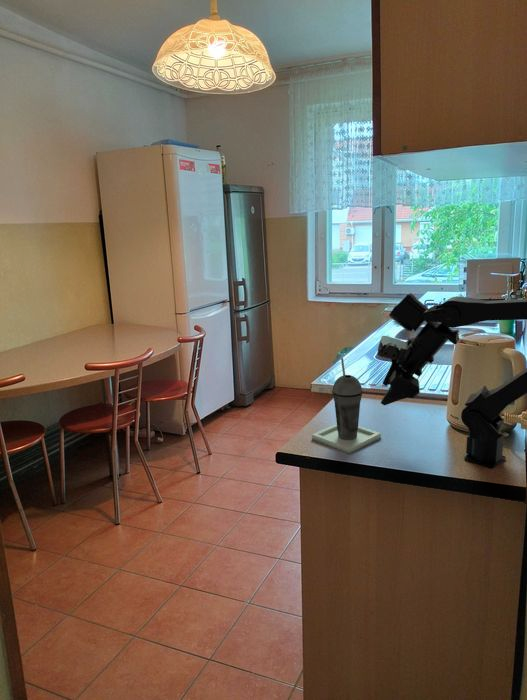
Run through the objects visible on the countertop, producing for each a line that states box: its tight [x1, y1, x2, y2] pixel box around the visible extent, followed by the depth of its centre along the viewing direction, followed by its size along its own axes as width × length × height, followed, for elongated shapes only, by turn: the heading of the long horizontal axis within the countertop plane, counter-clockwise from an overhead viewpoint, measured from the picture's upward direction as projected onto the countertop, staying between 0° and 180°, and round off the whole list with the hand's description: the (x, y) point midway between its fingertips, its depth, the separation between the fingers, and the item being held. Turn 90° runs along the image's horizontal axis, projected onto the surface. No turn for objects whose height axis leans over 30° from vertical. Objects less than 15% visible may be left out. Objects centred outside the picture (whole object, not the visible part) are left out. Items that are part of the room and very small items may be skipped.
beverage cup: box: [331, 357, 364, 440], centre depth 126 cm, size 7×7×20 cm
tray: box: [311, 423, 382, 455], centre depth 129 cm, size 12×12×1 cm
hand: (383, 393), depth 123 cm, fingers open, 9 cm apart
